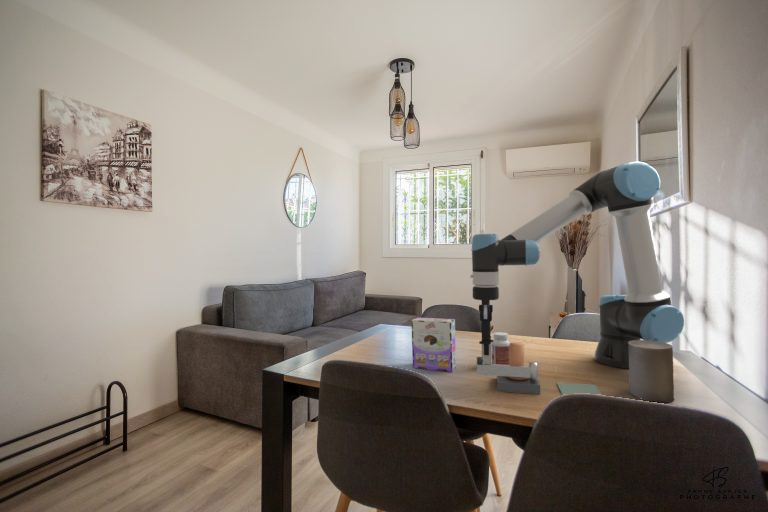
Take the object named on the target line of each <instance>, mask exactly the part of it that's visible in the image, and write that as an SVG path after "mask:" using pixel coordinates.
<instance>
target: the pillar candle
mask: <svg viewBox="0 0 768 512" xmlns="http://www.w3.org/2000/svg"><path fill="white" fill-rule="evenodd" d="M628 344H629V368H628V370H629V371H628V372H629V374H628V375H629V376H628V377H629V393H630V394H631V395H633V396H634V397H635V396H636V397H635V398H637V399H639V400H644V401H648V402H653V401H655V403H671V402H673V401H674V400H675V396H674V395H675V394H674V393H675V392H674V390H675V385H674V382H675V380H674V350H673V345H672V344H671V343H664V342H659V341H651V339H650V340H644V339H640V340H633V341H629V343H628ZM640 398H642V399H640Z"/></svg>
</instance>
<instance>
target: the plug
mask: <svg viewBox="0 0 768 512" xmlns="http://www.w3.org/2000/svg"><path fill="white" fill-rule="evenodd" d="M525 364H526V363H525V344H524V343H522V342H510V365H519V366H526V365H525ZM505 377H507V378H509V379H510V380H523V381H525V380H528V379H529V378H525V377H511V376H505Z"/></svg>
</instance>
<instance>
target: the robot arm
mask: <svg viewBox="0 0 768 512" xmlns="http://www.w3.org/2000/svg"><path fill="white" fill-rule="evenodd" d="M660 188H661V179H660V176H659V173H658V171H657V170H656V169H655V168H654V167H653V166H651V165H650V164H649V163H646V162H643V161H631V162H624V163H621V164H620V165H617V166H614V167H612V168H609V169H606V170H603V171H600V172H598V173H596V174H594V175H593V176H591V177H590V178H589V179H588V180H586V181H584V182H583V183H581V184H580V185H578V186H577V187H576V188H574V189H573V190H571V191H570V192H569V193H568V196H567V197H566V198H564V199H563V200H561V201H559V202H558V203H556V204H555V205H554V206H552V207H550V208H549V209H547V210H546V211H544V212H542V213H541V214H539V215H537V216H536V217H534V218H532V219H531V220H529V221H528V222H527V223H525V224H523V225H522V226H520V227H518V228H517V229H515V230H514V231H512V232H511V233H509V234H508V235H506V236H504V237H503V238H501V239H500V240H499V235H498V234H496V233H478V234H474V235H473V236H472V239H471V250H470V251H471V265H472V274H470V277H469V278H471V279H472V285H474V286H473V287H472V298H473V299H474V300H477V301H481V304H479V305H478V313H479V321H480V323H481V326H480V327H481V339H480V340H479V342H478V343H479V345H481V357H483V363H486V364H492V348H491V342H493V340H494V339H492V336H491V333H492V332H491V322H492V321H493V308H494V307H493V306H494V305H493V304H491V301H497V300H499V298H500V295H499V293H500V290H499V289H500V288H499V287H498V285H500V282H499V281H500V279H499V278H500V276H499V275H500V274H499V273H500V271H499V266H500V267H501V266H502V267H503V266H526V267H527V266H533V265H536V264H537V263H538V262H539V260H540V257H541V250H540V245H539V243H541V242H542V241H544V240H545V239H547V238H549V237H550V236H552V235H553V234H554V233H556V232H558V231H559V230H561V229H563V228H564V227H565V226H568V225H569V224H571V223H572V222H573V221H576V220H577V219H578V218H580V217H582V216H589V215H590V214H592V213H593V212H595V211H597V210H601V209H603V208H608V213H609V214H610V215H611V216H613V217H614V218H615V221H616V227H617V233H618V239H619V245H620V252H621V257H622V263H623V267H624V273H625V274H624V275H625V280H626V285H627V289H628V290H627V291H628V293H627V294H609V295H602V296H601V297H600V300H599V305H598V308H599V329H600V330H599V331H600V335H599V340H598V343H597V346H596V348H595V352H594V360H595V361H596V362H597V363H600V364H602V365H606V366H610V367H615V368H622V369H629V344H628V343H629V341H633V340H650V339H651V341H659V342H664V343H668V344H670V343H671V342H673V341H675V340H676V339H677V338H678V336H679V335H680V334H681V333H682V331H683V329H684V325H685V319H684V314H683V313H682V311H681V310H680V309H678V307H676V306H673V305H672V302H671V301H672V299H671V296H670V294H669V293H668V292H665V291H664V289H663V287H662V285H663V284H662V281H661V280H662V279H661V274H660V268H659V261H658V257H657V251H656V245H655V239H654V234H653V227H652V221H651V216H650V210H651V209H652V208H653V207H654V205H655V203H654V197H655V196H656V195H657V194H658V192H659V190H660Z"/></svg>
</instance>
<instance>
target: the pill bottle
mask: <svg viewBox="0 0 768 512" xmlns="http://www.w3.org/2000/svg"><path fill="white" fill-rule="evenodd" d="M492 340H493V342H491V364H502V365H510V343H511V341H510V340H509V334H508V332H502V331H501V332H500V331H499V332H497V331H496V332H493V339H492Z"/></svg>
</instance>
